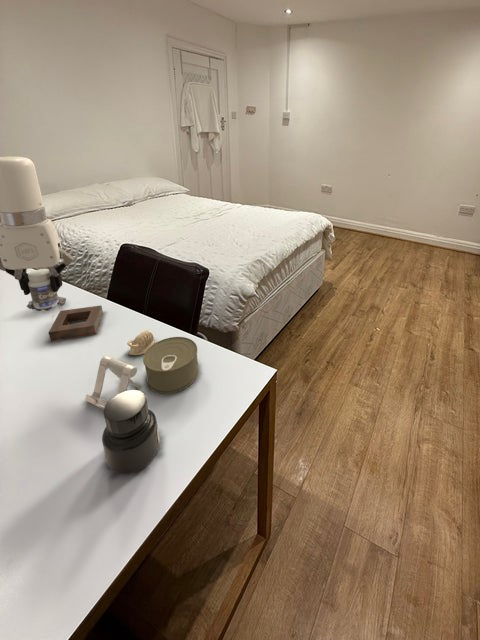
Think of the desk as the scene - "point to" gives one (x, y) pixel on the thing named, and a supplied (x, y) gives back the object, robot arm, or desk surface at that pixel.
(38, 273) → the pill bottle
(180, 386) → the can
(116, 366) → the tablet stand
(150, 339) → the decorative ornament
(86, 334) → the holder
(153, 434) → the ink bottle
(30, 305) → the seashell
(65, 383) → the desk surface
